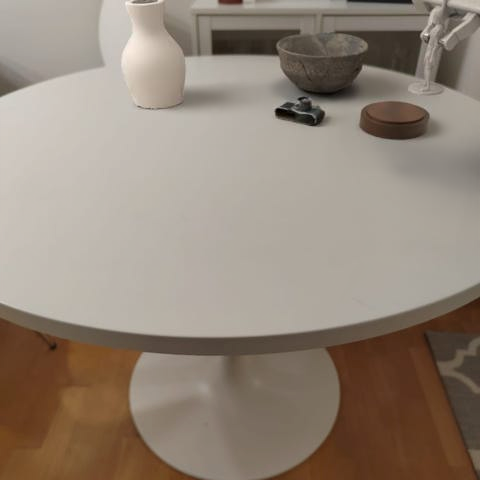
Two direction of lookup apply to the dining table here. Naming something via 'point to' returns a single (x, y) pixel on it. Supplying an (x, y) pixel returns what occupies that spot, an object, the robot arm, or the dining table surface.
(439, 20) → the figurine
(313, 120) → the camera
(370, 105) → the stand
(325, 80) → the bowl
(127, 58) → the vase
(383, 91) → the dining table surface
